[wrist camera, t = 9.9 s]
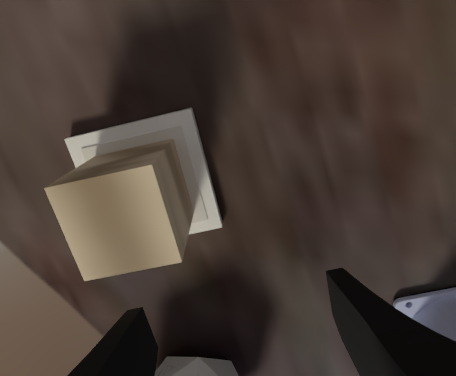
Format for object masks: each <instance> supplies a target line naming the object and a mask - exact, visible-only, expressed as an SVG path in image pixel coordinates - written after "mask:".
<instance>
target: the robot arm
mask: <svg viewBox="0 0 456 376" xmlns="http://www.w3.org/2000/svg"><path fill="white" fill-rule="evenodd" d="M326 276H327V282H328V288H329V295H330V301H331V308H332V314H333V317H334V320H335V323H336V325H337V328H338V331H339V333H340V336H341V339H342V341H343V343H344V345H345V347H346V349H347V351H348V353H349V355H350V357H351V359H352V361H353V363H354V365H355V367H356V369H357V371H358V373H359V375H360V376H456V287H454V288H449V289H444V290H439V291H433V292H428V293H423V294H417V295H412V296H407V297H401V298H398V299H396V300H395V301H394V302H393V306H392V305H390V304H389V303H387V302H386V301H384V300H383V299H382V298H380V297H379V296H378V295H376V294H375V293H373V292H372V291H371V290H369V289H368V288H367V287H366V286H364V285H363V284H362V283H360V282H359V281H358V280H357V279H356V278H354V277H353V276H352V275H351V274H350V273H348V272H347V271H346V270H345V269H343V268H338V269H333V270H328V271H326ZM408 302H409V303H408ZM406 303H408V304H406ZM157 353H158V346H157V343H156V341H155V338H154V336H153V333H152V330H151V328H150V325H149V323H148V320H147V318H146V315H145V313H144V310H143V307H141V308H136V309H131V310H127V311H126V312H125V313H124V314H123V316H122V317H121V318H120V319H119V320H118V321H117V322H116V323H115V324H114V326H113V327H112V328H111V329H110V330H109V331H108V332H107V334H106V335H105V336H104V337H103V338H102V339H101V340H100V341H99V343H98V344H97V345H96V346H95V347H94V348H93V349H92V350H91V352H90V353H89V354H88V355H87V356H86V357H85V358H84V359H83V360H82V361H81V362H80V363H79V364H78V365H77V366H76V367H75V368H74V369H73V370H72V371H71V372H70V374H69V375H68V376H155V369H156V362H157Z"/></svg>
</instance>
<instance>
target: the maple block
mask: <svg viewBox="0 0 456 376" xmlns="http://www.w3.org/2000/svg"><path fill="white" fill-rule="evenodd" d="M44 189H45V191H46V194H47V196H48V198H49V201H50V203H51V205H52V208H53V210H54V212H55V215H56V217H57V219H58V221H59V224H60V226H61V228H62V231H63V233H64V235H65V238H66V240H67V242H68V245H69V247H70V249H71V252H72V254H73V256H74V258H75V261H76V263H77V265H78V268H79V270H80V272H81V275H82V277H83V279H84V281H88V280H93V279H98V278H103V277H108V276H114V275H119V274H124V273H129V272H134V271H139V270H144V269H149V268H155V267H160V266H165V265H170V264H175V263H180V262H182V260H183V256H184V252H185V248H186V243H187V239H188V235H189V231H190V227H191V223H192V218H193V214H194V211H193V207H192V204H191V200H190V196H189V193H188V189H187V186H186V182H185V178H184V175H183V171H182V168H181V164H180V161H179V157H178V153H177V150H176V146H175V143H174V139H169V140H164V141H160V142H155V143H151V144H146V145H142V146H137V147H133V148H129V149H124V150H120V151H115V152H111V153H106V154H102V155H97V156H94V157H93V158H91V159H90V160H88V161H86V162H85V163H83V164H82V165H80V166H78V167H77V168H75V169H74V170H72V171H71V172H69V173H67V174H66V175H64V176H63V177H61V178H59V179H58V180H56V181H55V182H53V183H51V184H50V185H48V186H47V187H45V188H44Z"/></svg>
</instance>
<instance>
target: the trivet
mask: <svg viewBox="0 0 456 376" xmlns="http://www.w3.org/2000/svg"><path fill="white" fill-rule="evenodd" d="M169 139H174V143H175V146H176V150H177V153H178V157H179V161H180V164H181V168H182V171H183V175H184V178H185V182H186V186H187V189H188V193H189V196H190V200H191V204H192V207H193V211H194V214H193V218H192V223H191V227H190V231H189V234H193V233H198V232H203V231H207V230H212V229H217V228H222V219H221V215H220V211H219V207H218V203H217V200H216V196H215V192H214V188H213V184H212V181H211V177H210V173H209V169H208V165H207V162H206V158H205V154H204V150H203V146H202V143H201V139H200V135H199V131H198V127H197V124H196V120H195V116H194V112H193V109H192V107H191V108H187V109H183V110H179V111H175V112H170V113H166V114H162V115H158V116H154V117H150V118H146V119H141V120H137V121H133V122H129V123H125V124H121V125H117V126H113V127H108V128H104V129H100V130H96V131H92V132H88V133H84V134H80V135H75V136H71V137H68V138H66V139H64V140H65V142H66V145H67V147H68V150H69V152H70V155H71V157H72V160H73V162H74V165H75V167H76V168H77V167H78V166H80V165H82V164H83V163H85V162H86V161H88V160H90V159H91V158H93V157H94V156H97V155H102V154H106V153H111V152H115V151H120V150H124V149H129V148H133V147H137V146H142V145H146V144H151V143H155V142H160V141H164V140H169Z"/></svg>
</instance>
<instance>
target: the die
mask: <svg viewBox="0 0 456 376" xmlns="http://www.w3.org/2000/svg"><path fill="white" fill-rule="evenodd" d="M155 376H239V375H238V373H237V371H236V369H235V367H234V366H233V364H232V362H231V361H229V360H220V359H211V358H202V357H166V358H165V360H164V361H163V362H162V364H161V365H160V366H159V367H158V369H157V370H156V371H155Z"/></svg>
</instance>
